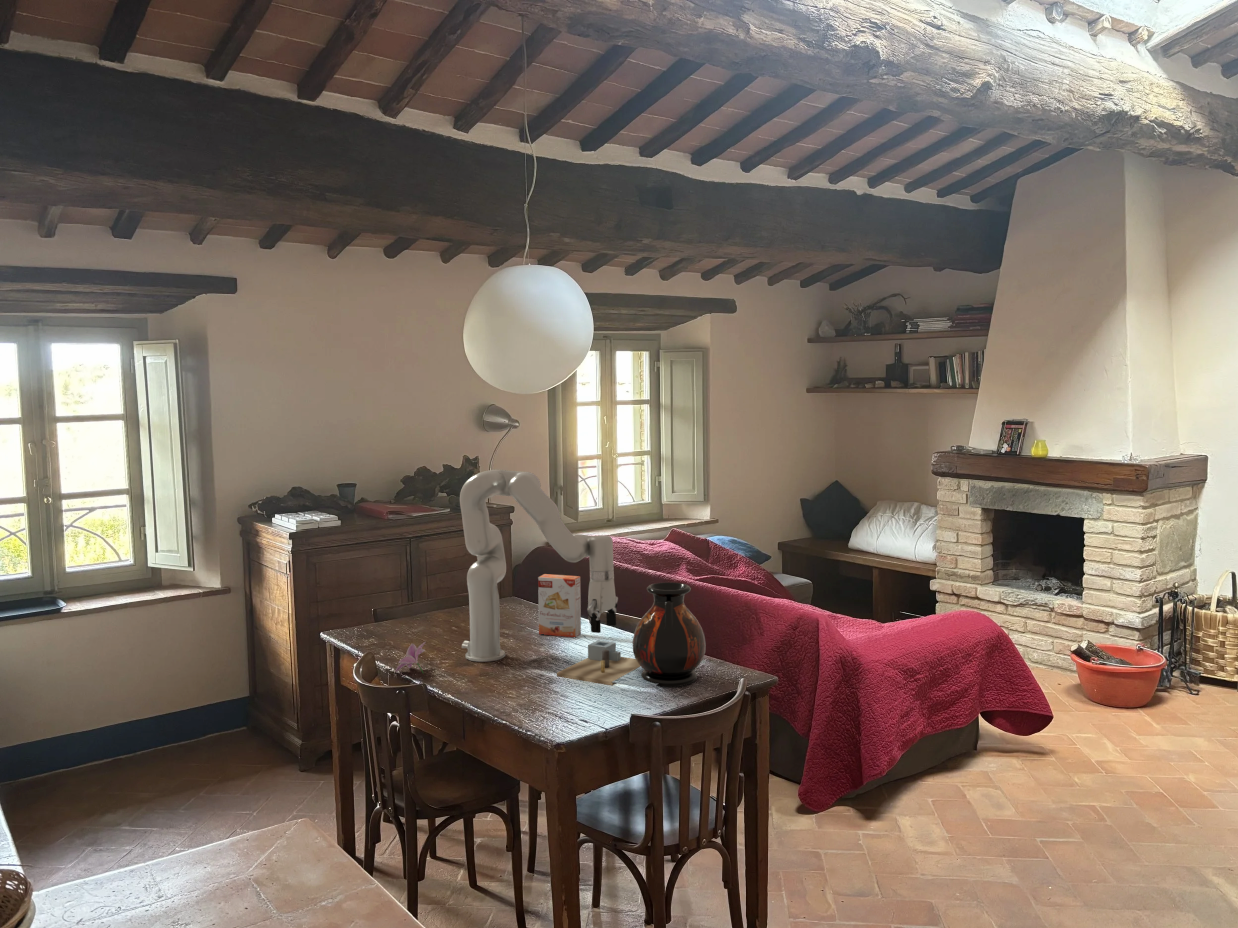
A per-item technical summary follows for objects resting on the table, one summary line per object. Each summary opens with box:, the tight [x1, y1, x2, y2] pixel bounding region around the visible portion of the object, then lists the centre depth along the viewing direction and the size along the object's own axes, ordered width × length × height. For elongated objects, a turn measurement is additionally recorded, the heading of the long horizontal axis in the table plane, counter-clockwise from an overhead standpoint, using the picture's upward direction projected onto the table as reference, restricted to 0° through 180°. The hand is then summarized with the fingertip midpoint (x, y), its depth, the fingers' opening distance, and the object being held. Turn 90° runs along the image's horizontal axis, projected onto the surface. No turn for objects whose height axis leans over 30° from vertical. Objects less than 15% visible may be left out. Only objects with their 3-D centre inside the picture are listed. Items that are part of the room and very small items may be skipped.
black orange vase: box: [632, 582, 707, 688], centre depth 273 cm, size 22×22×28 cm
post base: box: [556, 650, 641, 687], centre depth 284 cm, size 19×24×6 cm
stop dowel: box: [601, 660, 605, 673], centre depth 278 cm, size 1×1×4 cm
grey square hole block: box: [587, 639, 622, 661], centre depth 292 cm, size 9×6×4 cm
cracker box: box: [537, 573, 582, 638], centre depth 326 cm, size 14×6×21 cm, turn 72°
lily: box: [393, 641, 427, 674], centre depth 283 cm, size 12×12×10 cm
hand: (603, 628), depth 293 cm, fingers open, 9 cm apart
